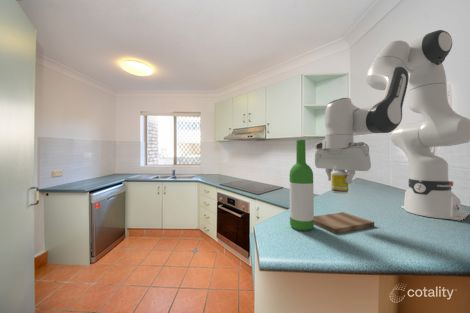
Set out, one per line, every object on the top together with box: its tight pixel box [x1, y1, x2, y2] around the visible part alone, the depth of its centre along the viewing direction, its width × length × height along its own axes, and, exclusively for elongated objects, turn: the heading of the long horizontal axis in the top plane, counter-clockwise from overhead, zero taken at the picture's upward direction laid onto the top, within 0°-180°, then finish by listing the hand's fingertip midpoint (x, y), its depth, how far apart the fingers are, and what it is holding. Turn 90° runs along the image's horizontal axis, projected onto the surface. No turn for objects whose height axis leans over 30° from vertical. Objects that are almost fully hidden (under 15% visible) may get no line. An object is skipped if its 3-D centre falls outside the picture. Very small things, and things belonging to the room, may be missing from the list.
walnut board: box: [314, 211, 375, 235], centre depth 65 cm, size 18×12×2 cm, turn 109°
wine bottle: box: [289, 139, 315, 232], centre depth 62 cm, size 8×8×30 cm
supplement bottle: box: [330, 165, 349, 195], centre depth 65 cm, size 5×5×10 cm
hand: (339, 182), depth 65 cm, fingers closed on supplement bottle, 5 cm apart
